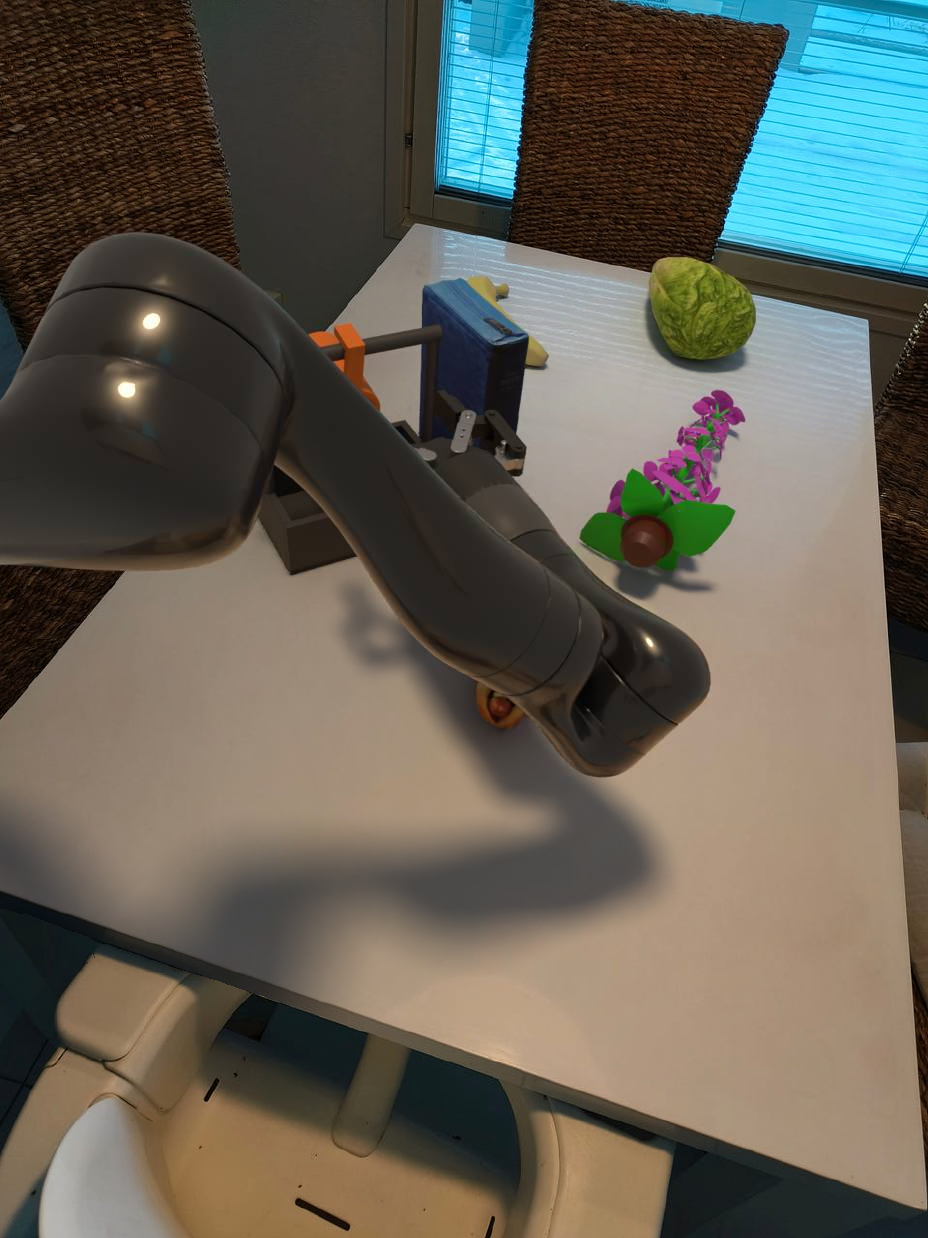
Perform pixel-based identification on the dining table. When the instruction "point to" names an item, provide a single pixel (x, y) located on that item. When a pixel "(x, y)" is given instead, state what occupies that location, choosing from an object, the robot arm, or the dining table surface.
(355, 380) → the measuring cup
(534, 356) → the banana
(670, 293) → the lettuce
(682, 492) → the potted plant
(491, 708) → the hot dog
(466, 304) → the book
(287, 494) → the basket
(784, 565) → the dining table surface
